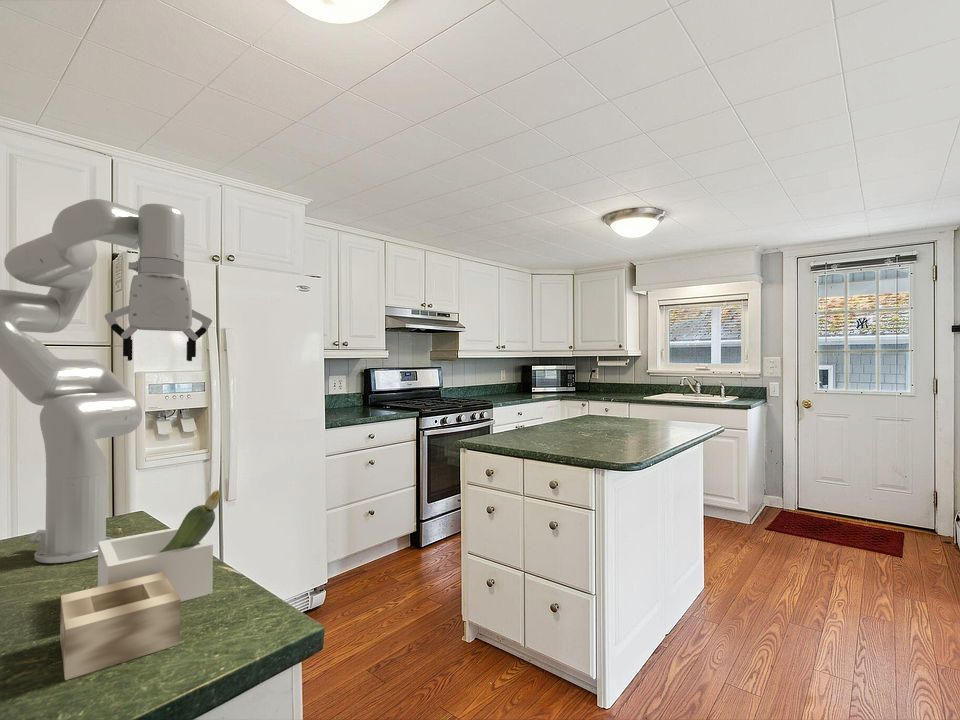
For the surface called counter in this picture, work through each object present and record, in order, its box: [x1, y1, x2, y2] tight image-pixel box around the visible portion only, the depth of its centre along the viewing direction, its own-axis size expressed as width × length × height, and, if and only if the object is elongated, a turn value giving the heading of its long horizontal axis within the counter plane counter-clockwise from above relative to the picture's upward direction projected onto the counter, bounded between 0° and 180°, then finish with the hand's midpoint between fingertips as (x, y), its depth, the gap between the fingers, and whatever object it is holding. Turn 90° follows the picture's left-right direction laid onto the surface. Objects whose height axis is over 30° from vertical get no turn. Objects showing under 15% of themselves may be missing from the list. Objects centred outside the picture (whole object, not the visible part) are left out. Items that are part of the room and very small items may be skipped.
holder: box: [59, 572, 182, 681], centre depth 69 cm, size 12×12×6 cm
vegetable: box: [159, 489, 221, 553], centre depth 84 cm, size 4×4×20 cm
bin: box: [97, 526, 214, 603], centre depth 84 cm, size 14×14×8 cm
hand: (160, 360), depth 97 cm, fingers open, 9 cm apart
